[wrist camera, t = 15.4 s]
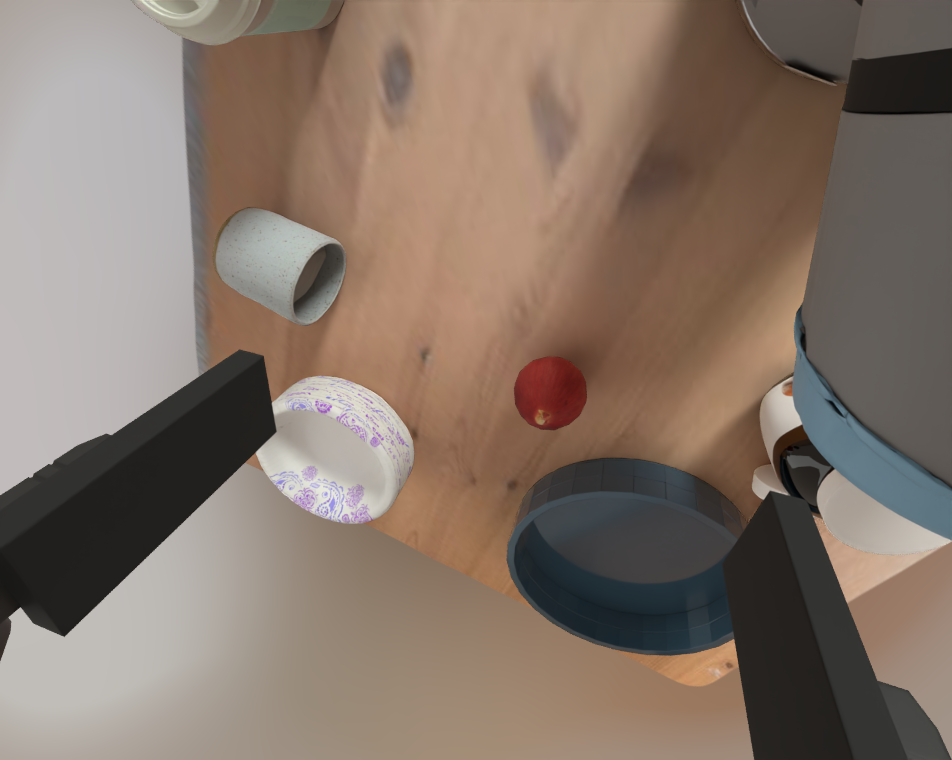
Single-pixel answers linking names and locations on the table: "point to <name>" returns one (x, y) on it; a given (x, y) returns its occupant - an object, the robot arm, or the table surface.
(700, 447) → the table surface
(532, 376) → the onion
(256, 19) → the coffee cup
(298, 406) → the paper bowls
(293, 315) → the ceramic mug
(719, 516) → the bowl
